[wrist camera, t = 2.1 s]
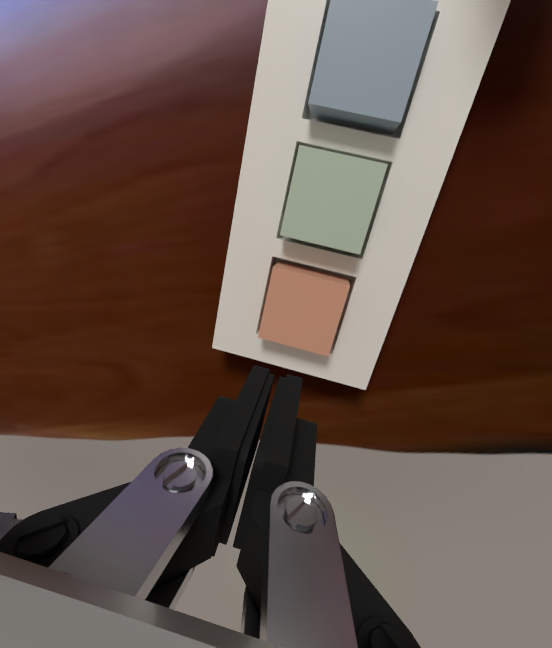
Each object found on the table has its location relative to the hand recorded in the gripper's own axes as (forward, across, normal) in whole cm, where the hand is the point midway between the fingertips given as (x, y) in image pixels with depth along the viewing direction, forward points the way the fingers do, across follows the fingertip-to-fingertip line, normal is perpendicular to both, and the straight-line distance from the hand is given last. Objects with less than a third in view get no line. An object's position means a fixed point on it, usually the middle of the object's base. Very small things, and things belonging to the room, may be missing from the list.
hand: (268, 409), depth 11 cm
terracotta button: (+14, 0, 0) cm, 14 cm away
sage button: (+14, 0, -7) cm, 15 cm away
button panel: (+15, 0, -7) cm, 17 cm away
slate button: (+14, 0, -14) cm, 20 cm away
